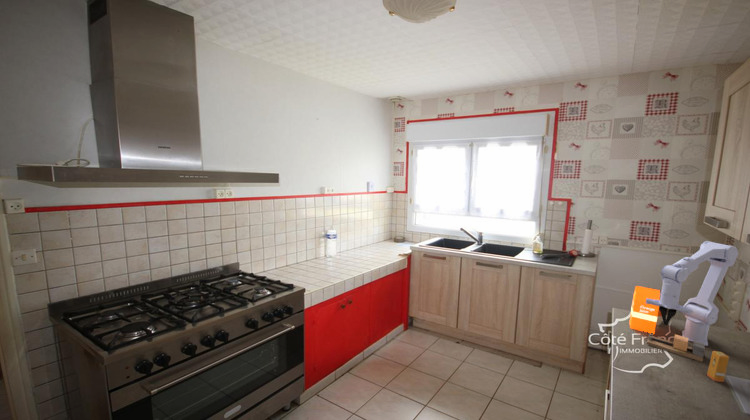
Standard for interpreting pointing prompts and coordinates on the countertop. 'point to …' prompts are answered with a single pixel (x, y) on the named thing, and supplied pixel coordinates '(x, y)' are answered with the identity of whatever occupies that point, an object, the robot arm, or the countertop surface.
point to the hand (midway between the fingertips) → (665, 324)
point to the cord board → (667, 345)
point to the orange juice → (644, 310)
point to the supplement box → (717, 366)
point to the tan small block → (680, 342)
